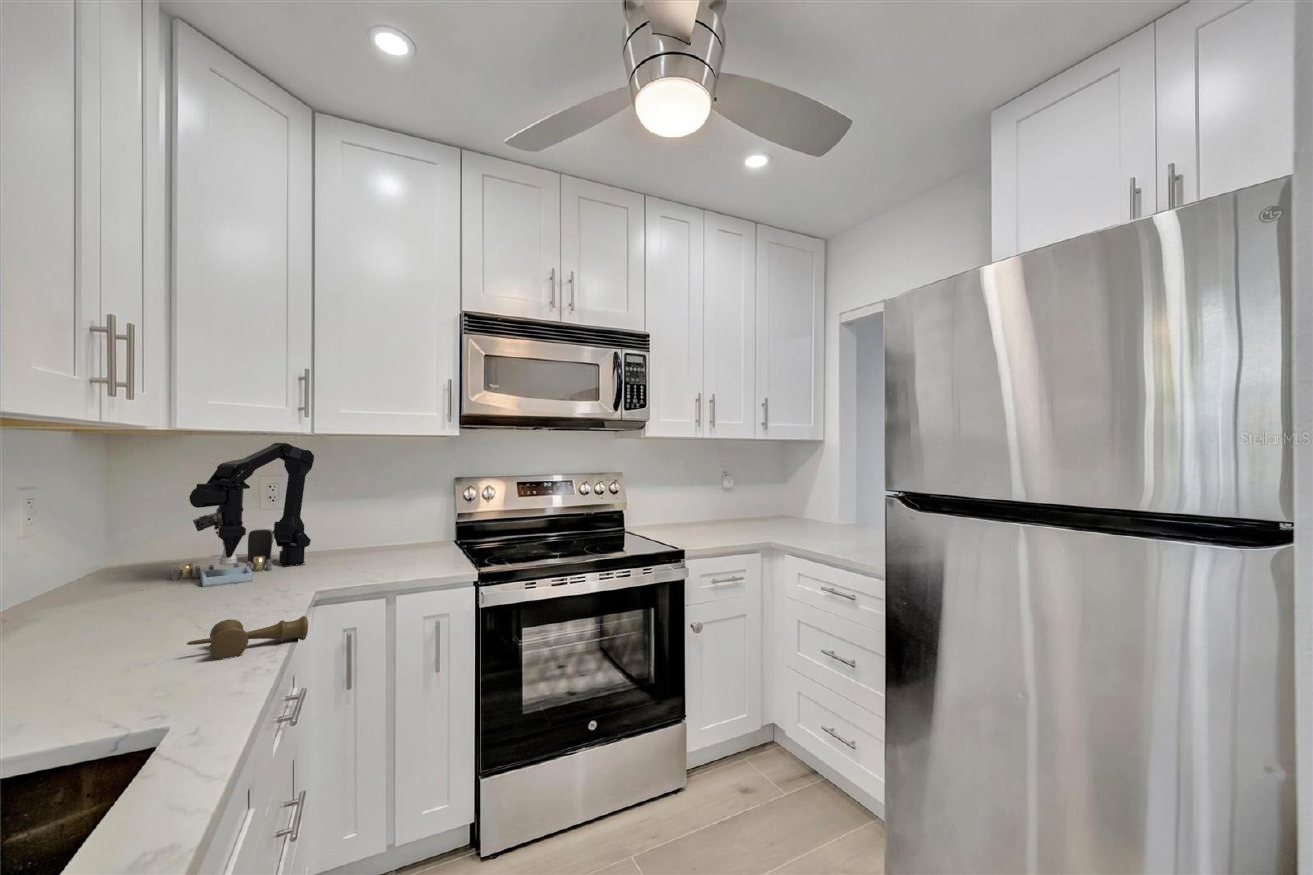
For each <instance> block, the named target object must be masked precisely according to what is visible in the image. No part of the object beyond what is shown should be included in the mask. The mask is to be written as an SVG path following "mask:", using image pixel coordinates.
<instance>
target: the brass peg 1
mask: <svg viewBox="0 0 1313 875" xmlns="http://www.w3.org/2000/svg"><path fill="white" fill-rule="evenodd" d="M193 568H194V562H193V561H188V562H180V563H179V578H178V579H179V580H188V579H192V578H193V572H194V571H193V570H194V569H193Z"/></svg>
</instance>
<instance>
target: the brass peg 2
mask: <svg viewBox="0 0 1313 875" xmlns="http://www.w3.org/2000/svg"><path fill="white" fill-rule="evenodd" d="M263 570H264V571H265V570H266V562H265V556H256V557H254V562H253V563H252V572H253V571H254V572H253V573H257V572H259V571H260V572H264V571H263Z"/></svg>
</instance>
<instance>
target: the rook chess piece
mask: <svg viewBox="0 0 1313 875" xmlns="http://www.w3.org/2000/svg"><path fill="white" fill-rule="evenodd" d="M221 540H222V539H221ZM223 542H224V541H223V540H222V543H223ZM222 547H223V550H222V554H221V555H220V556H221V557H220V558H219V559H218V561H219V562H218V564H219V565H221V566H228V565H229V566H230V565H234V564H235V563H236V562H238V560H237V559H238V557H237V555H236V554H235V552H234V553H233V555H232V556H231V557H226V552H225V546H224V545H223V544H222Z"/></svg>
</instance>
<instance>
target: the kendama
mask: <svg viewBox="0 0 1313 875" xmlns="http://www.w3.org/2000/svg"><path fill="white" fill-rule="evenodd" d="M308 632H309V621H308V618H307V616H306V615H302V616H301V617H299V618H298V619H295V620H289V621H286V620H283V619H282V620H279V622H278V623H276V624H273V625H270V626H266V627H263V628H258V629H255V630H250V631H245V629H244V625H243V624H242V623H241V620H240V621H239V620H237V619H224V620H221V621H219V622H218V623H216V624H215V625H214V626H213V627H212V628H211V629H210V634H209V637H208V638H201V639H196V640H191V641H188V642H187V643H186V645H188V646H193V645H206V644H210V645H209V652H210V653H211V655H212V657H214V658H216V659H218V660H224V659H223V658H228V659H230V658H229V657H233V658H235V657H234V656H237V657H238V655H239V656H240V655H242V654H243V653H244V652H245V651H246V650H247V647H248V643H249V640H255V639H256V640H278V641H279V642H284V641H285V640H288V639H298V640H300V641H305V640H306V638H307V636H308Z"/></svg>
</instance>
